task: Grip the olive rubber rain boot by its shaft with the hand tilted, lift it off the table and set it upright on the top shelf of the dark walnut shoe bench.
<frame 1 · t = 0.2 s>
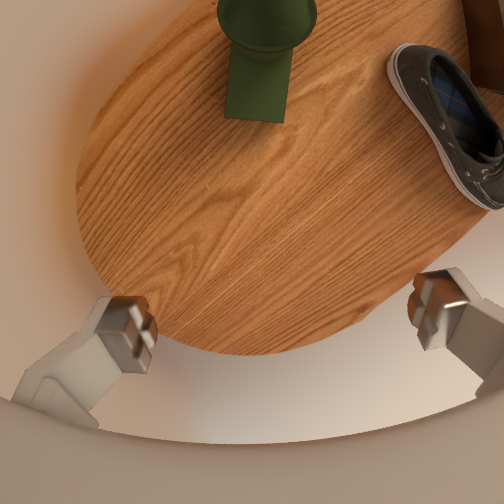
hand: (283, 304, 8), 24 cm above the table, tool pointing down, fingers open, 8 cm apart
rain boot: (262, 41, 23), on the table
boat shoe: (455, 131, 26), on the table
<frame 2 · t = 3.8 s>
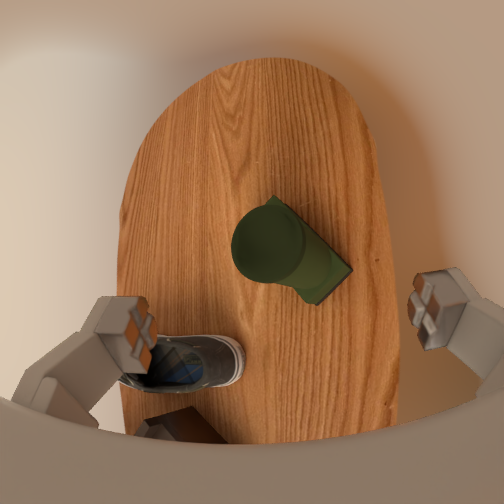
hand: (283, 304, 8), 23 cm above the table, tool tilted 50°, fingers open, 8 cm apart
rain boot: (317, 268, 32), on the table
boat shoe: (173, 363, 39), on the table
shoe bench: (190, 476, 34), on the table
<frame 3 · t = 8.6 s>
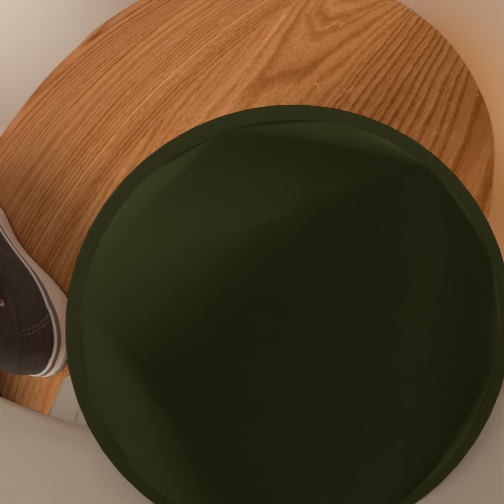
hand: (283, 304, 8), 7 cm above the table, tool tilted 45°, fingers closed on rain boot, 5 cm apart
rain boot: (282, 321, 15), on the table, touching gripper
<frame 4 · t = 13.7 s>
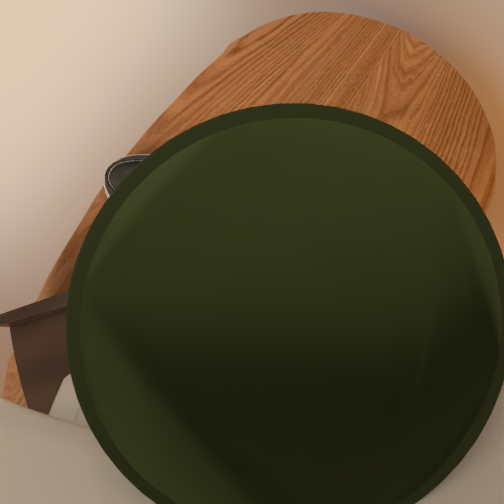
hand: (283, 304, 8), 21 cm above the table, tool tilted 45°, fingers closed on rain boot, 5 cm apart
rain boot: (282, 320, 15), point 14 cm above the table, touching gripper
boat shoe: (198, 217, 32), on the table
shoe bench: (117, 361, 29), on the table
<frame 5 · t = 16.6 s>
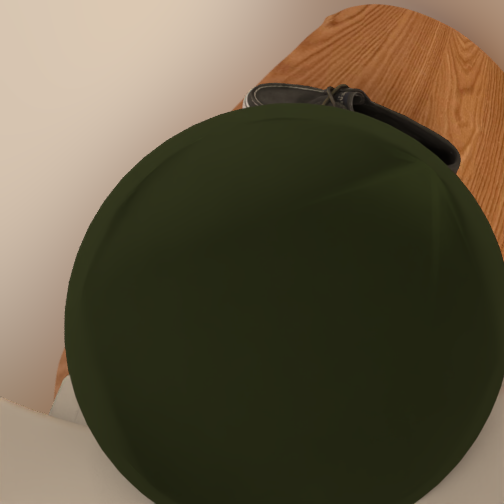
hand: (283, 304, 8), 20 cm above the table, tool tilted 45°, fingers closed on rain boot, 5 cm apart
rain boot: (282, 320, 15), point 12 cm above the table, touching gripper
boat shoe: (344, 145, 31), on the table
when the fingers open (14 cm above the table, at t = 18.6 s): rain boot stays where it is, resting on shoe bench.
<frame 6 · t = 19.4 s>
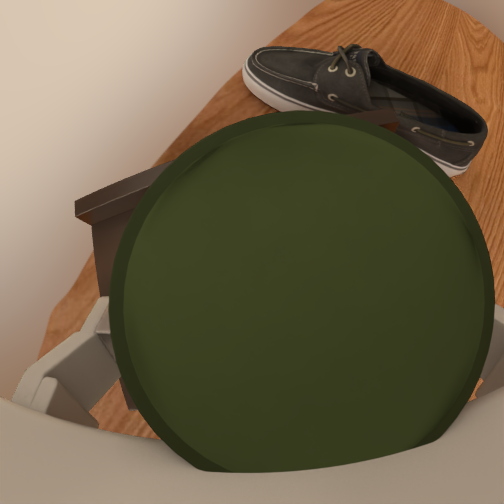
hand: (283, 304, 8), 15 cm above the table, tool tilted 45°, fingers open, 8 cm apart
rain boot: (287, 312, 16), point 7 cm above the table, touching shoe bench
boat shoe: (357, 114, 26), on the table
shoe bench: (269, 276, 24), on the table
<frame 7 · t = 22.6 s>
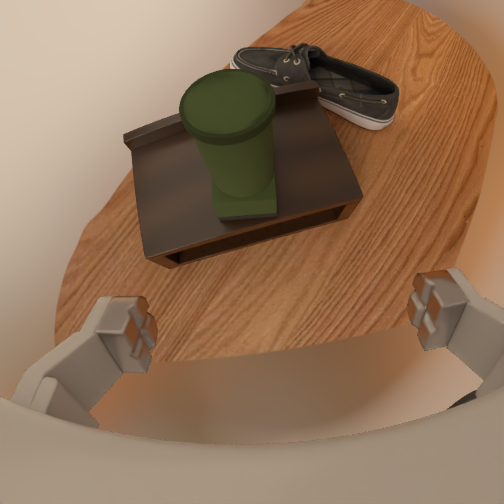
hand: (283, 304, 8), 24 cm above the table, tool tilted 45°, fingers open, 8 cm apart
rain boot: (246, 188, 28), point 7 cm above the table, touching shoe bench
boat shoe: (309, 91, 38), on the table
shoe bench: (243, 189, 35), on the table
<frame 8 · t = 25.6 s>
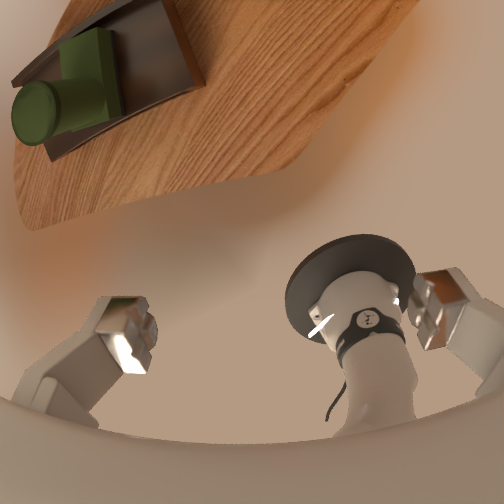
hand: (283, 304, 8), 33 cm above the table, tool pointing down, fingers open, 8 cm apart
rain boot: (102, 97, 27), point 7 cm above the table, touching shoe bench
shoe bench: (116, 75, 32), on the table
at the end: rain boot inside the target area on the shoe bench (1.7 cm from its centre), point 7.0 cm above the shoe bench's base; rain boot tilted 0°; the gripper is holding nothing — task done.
